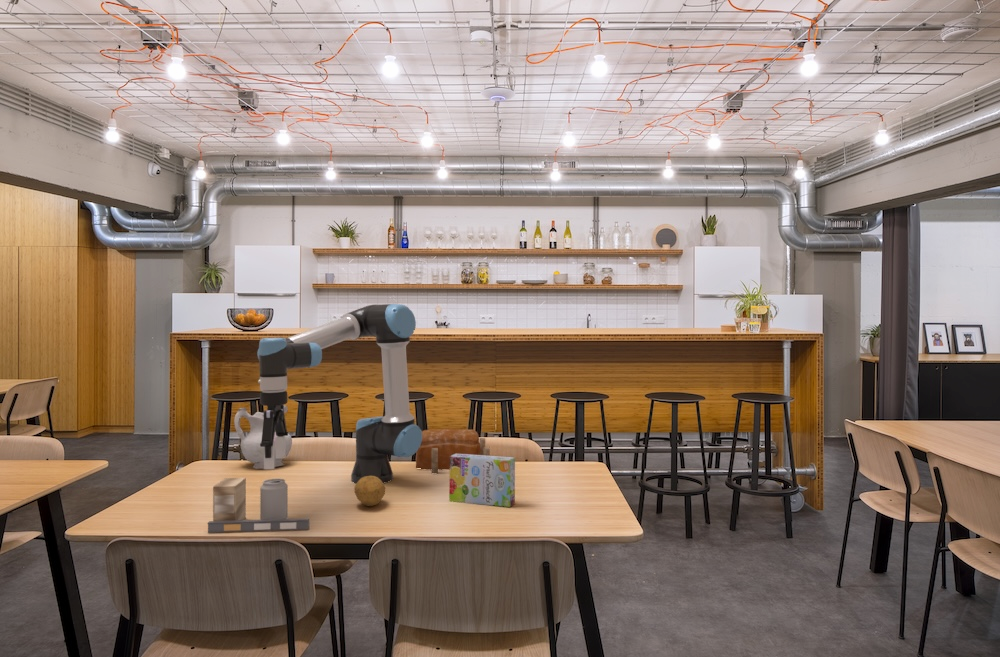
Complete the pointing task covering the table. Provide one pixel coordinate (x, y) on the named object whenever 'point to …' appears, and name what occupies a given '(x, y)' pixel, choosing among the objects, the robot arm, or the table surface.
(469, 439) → the bread
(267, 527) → the rail
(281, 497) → the can
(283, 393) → the robot arm
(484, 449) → the twin upright posts
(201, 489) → the table surface
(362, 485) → the potato
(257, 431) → the ceramic pitcher
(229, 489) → the kraft box
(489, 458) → the snack box
